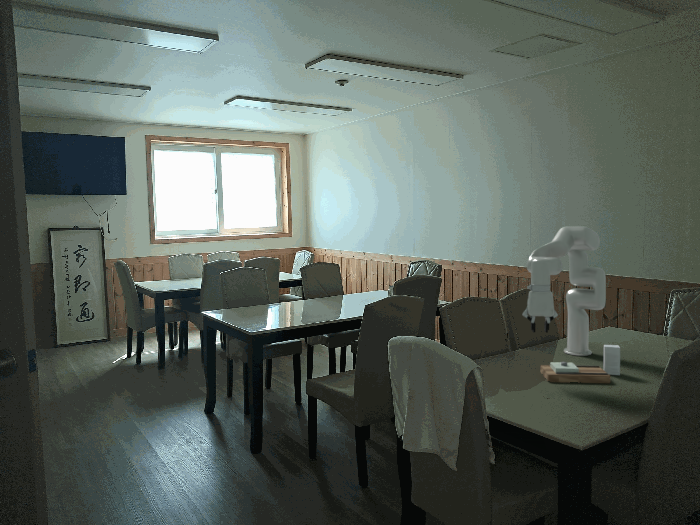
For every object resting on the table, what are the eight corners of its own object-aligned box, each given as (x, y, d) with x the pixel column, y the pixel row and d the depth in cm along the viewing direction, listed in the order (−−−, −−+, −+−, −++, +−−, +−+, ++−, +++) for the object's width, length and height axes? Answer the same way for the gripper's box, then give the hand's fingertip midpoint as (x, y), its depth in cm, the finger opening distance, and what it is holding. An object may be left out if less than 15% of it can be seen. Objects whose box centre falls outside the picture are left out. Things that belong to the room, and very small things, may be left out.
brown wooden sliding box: (540, 371, 230) (540, 363, 230) (598, 373, 227) (598, 364, 227) (548, 382, 216) (548, 373, 216) (610, 383, 213) (610, 374, 213)
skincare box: (618, 372, 227) (619, 345, 226) (620, 375, 223) (620, 347, 222) (602, 371, 229) (603, 344, 228) (604, 374, 225) (604, 346, 224)
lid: (550, 366, 227) (550, 359, 227) (572, 367, 226) (572, 359, 226) (555, 373, 218) (555, 365, 218) (578, 373, 217) (578, 365, 217)
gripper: (521, 289, 218) (520, 333, 219) (564, 289, 215) (563, 334, 217) (517, 287, 225) (517, 329, 227) (559, 287, 223) (558, 330, 224)
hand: (539, 331), depth 222 cm, fingers open, 4 cm apart
